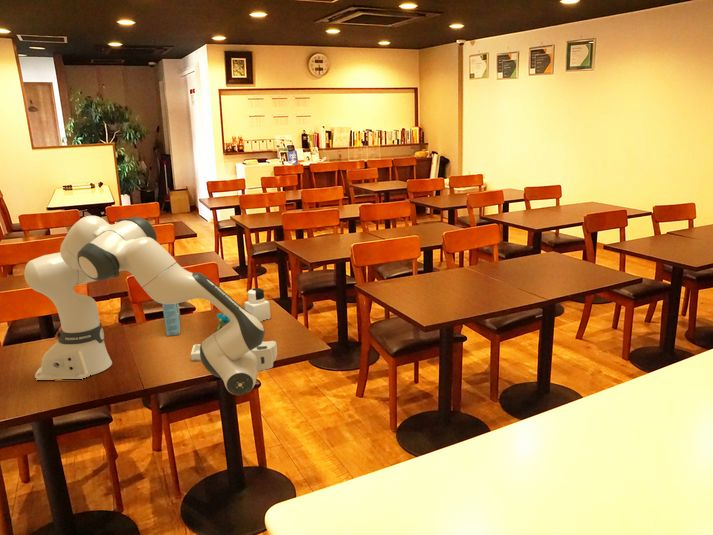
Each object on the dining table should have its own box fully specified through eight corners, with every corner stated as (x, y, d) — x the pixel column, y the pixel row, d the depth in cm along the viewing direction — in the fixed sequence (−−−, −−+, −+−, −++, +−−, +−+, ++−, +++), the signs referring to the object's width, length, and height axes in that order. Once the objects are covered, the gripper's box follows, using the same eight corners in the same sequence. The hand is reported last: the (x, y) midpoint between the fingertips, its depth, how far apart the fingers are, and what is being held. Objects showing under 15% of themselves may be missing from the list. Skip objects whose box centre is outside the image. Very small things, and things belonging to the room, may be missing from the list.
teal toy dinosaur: (247, 326, 216) (227, 313, 210) (239, 340, 214) (218, 327, 208) (232, 323, 224) (212, 310, 218) (224, 337, 222) (204, 324, 217)
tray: (191, 361, 192) (190, 354, 191) (194, 351, 199) (193, 344, 199) (222, 358, 193) (221, 351, 192) (224, 348, 201) (223, 342, 200)
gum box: (180, 334, 215) (172, 275, 209) (165, 336, 214) (157, 276, 208) (180, 317, 234) (173, 262, 227) (167, 319, 232) (159, 263, 226)
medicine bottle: (261, 314, 233) (258, 285, 230) (271, 319, 227) (268, 289, 224) (245, 319, 228) (242, 289, 225) (255, 323, 223) (252, 293, 220)
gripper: (207, 374, 170) (211, 355, 184) (278, 367, 173) (277, 349, 186) (204, 354, 169) (209, 336, 182) (276, 347, 171) (275, 330, 185)
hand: (244, 342), depth 184 cm, fingers open, 8 cm apart
